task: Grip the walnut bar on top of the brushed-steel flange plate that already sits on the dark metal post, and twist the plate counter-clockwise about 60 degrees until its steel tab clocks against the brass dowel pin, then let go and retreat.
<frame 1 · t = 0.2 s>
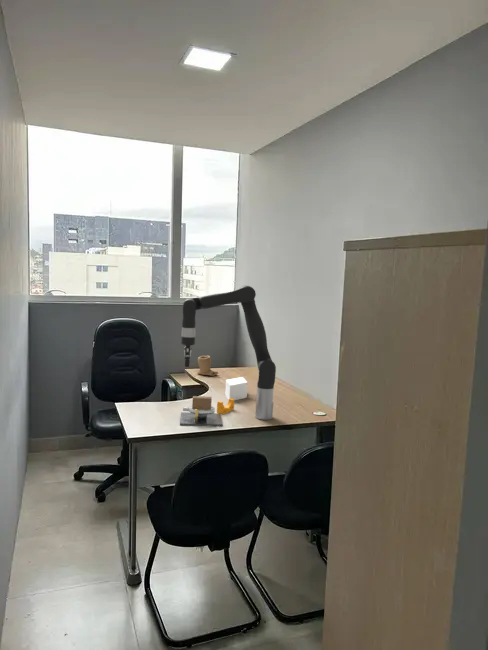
hand: (187, 365, 269), 28 cm above the table, fingers open, 8 cm apart
post base: (201, 420, 266), on the table
tan irregular piece: (206, 375, 382), on the table
white block: (235, 396, 321), on the table
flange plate: (199, 404, 265), point 9 cm above the table, hinge at 0.0°
pipe clamp: (226, 412, 285), on the table
dowel pin: (196, 424, 257), resting on post base
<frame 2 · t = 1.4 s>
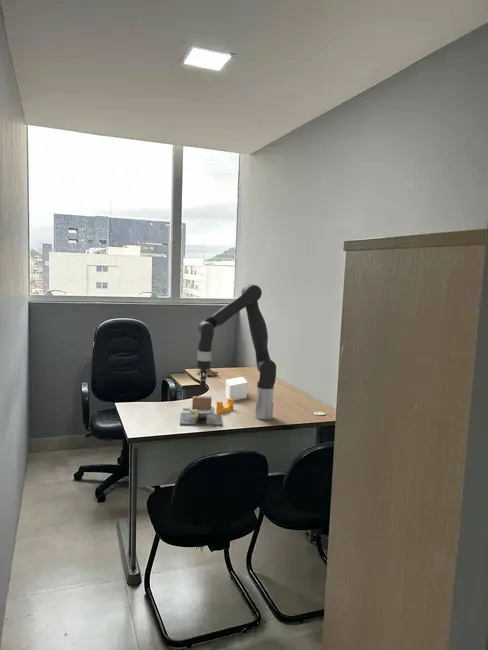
hand: (202, 389, 264), 17 cm above the table, fingers open, 8 cm apart
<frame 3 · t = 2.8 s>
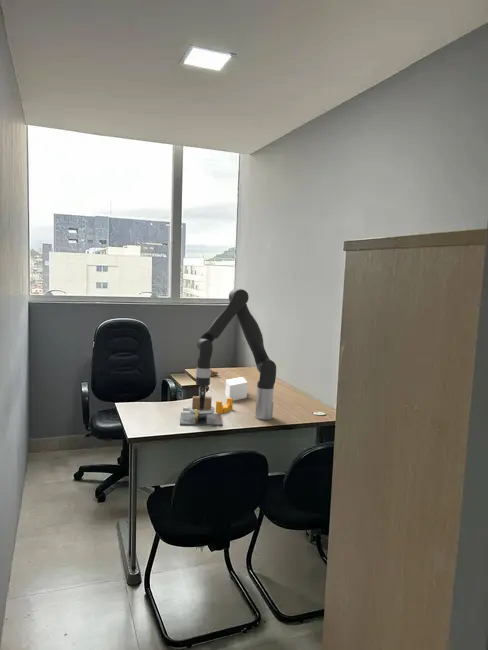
hand: (201, 407, 265), 7 cm above the table, fingers closed on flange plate, 4 cm apart
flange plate: (199, 404, 265), point 9 cm above the table, hinge at 0.0°, touching gripper
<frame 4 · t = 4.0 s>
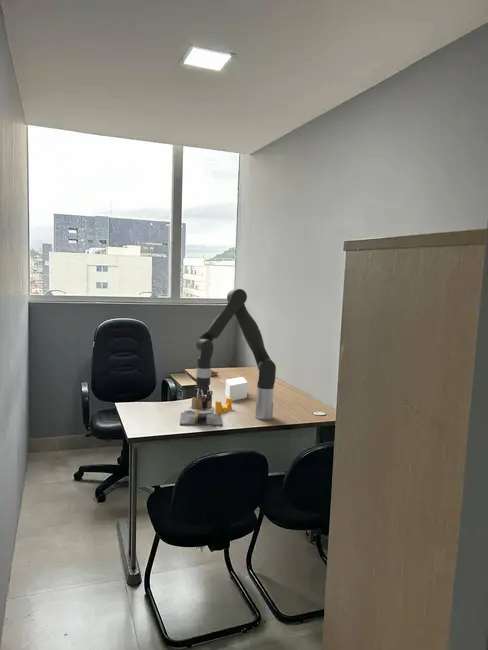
hand: (202, 407, 265), 7 cm above the table, fingers closed on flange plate, 4 cm apart
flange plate: (199, 404, 264), point 9 cm above the table, hinge at 29.3°, touching gripper
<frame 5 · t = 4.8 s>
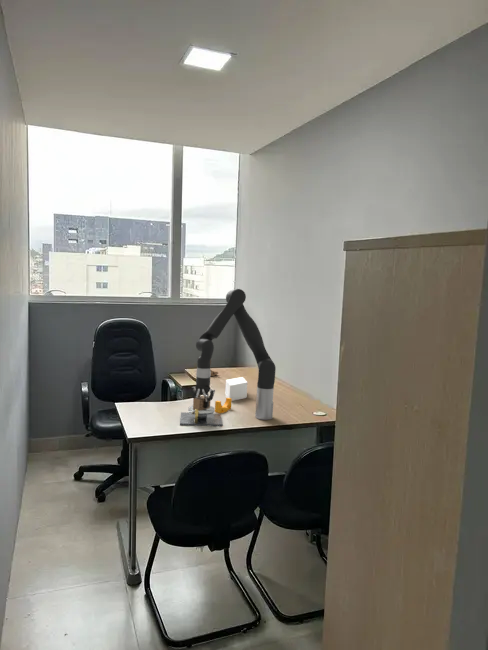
hand: (201, 407, 265), 7 cm above the table, fingers closed on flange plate, 4 cm apart
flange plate: (200, 404, 263), point 9 cm above the table, hinge at 53.0°, touching gripper
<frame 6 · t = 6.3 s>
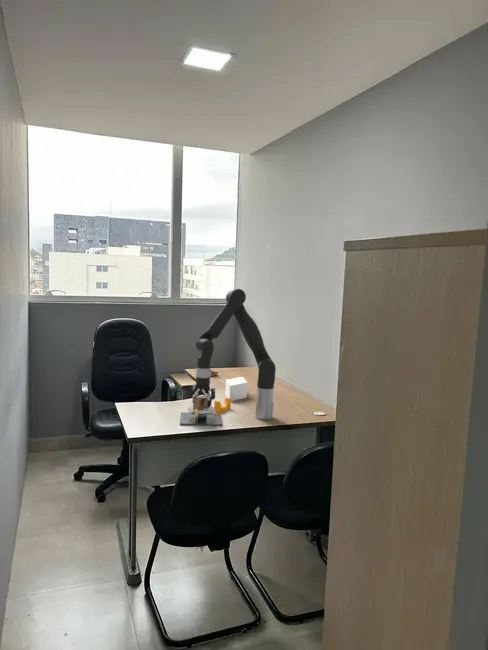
hand: (201, 405, 265), 8 cm above the table, fingers open, 8 cm apart
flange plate: (200, 404, 263), point 9 cm above the table, hinge at 53.1°
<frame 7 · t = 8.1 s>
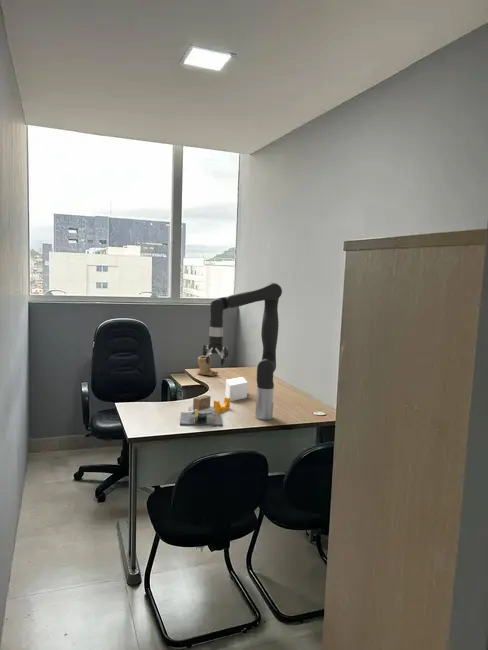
hand: (215, 364, 272), 29 cm above the table, fingers open, 8 cm apart
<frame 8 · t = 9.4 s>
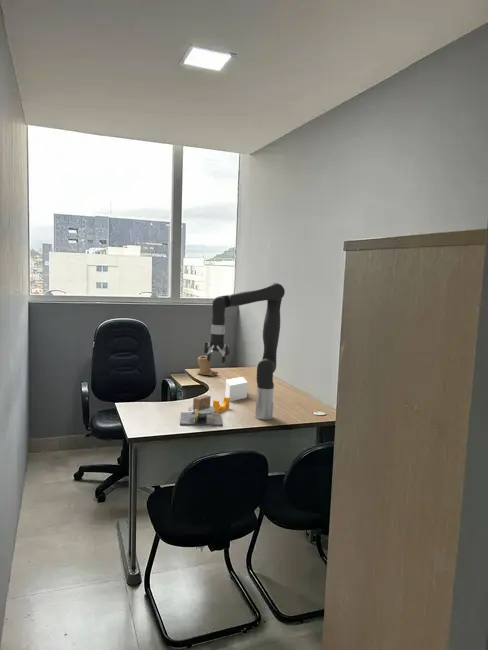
hand: (216, 361, 273), 30 cm above the table, fingers open, 8 cm apart
at the end: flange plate at +53° (first picture: +0°); the gripper is holding nothing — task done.
